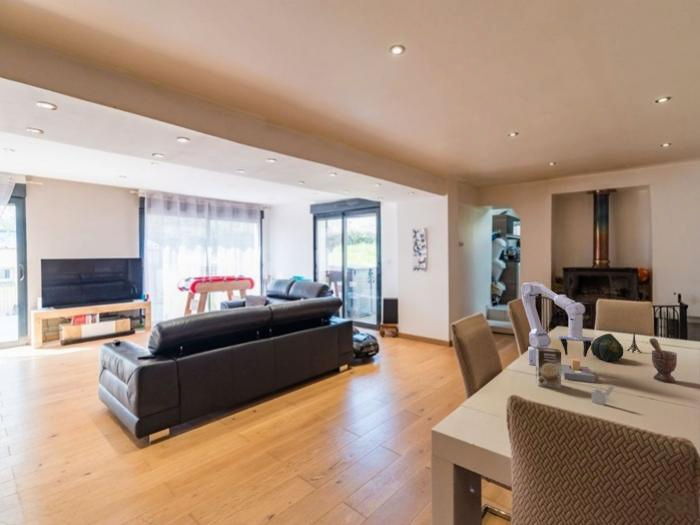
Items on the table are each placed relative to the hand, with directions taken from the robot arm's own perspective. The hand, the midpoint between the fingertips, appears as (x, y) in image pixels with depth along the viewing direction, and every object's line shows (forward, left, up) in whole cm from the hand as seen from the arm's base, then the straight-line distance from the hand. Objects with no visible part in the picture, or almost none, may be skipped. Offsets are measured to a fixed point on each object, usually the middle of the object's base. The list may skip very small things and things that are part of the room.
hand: (575, 355), depth 168 cm
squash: (+21, +36, -10) cm, 43 cm away
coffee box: (-14, -20, -10) cm, 26 cm away
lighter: (+3, -35, -10) cm, 37 cm away
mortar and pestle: (+35, +5, -10) cm, 37 cm away
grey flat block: (0, -2, -9) cm, 10 cm away
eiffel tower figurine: (+41, +60, -10) cm, 73 cm away
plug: (0, 0, -8) cm, 8 cm away
